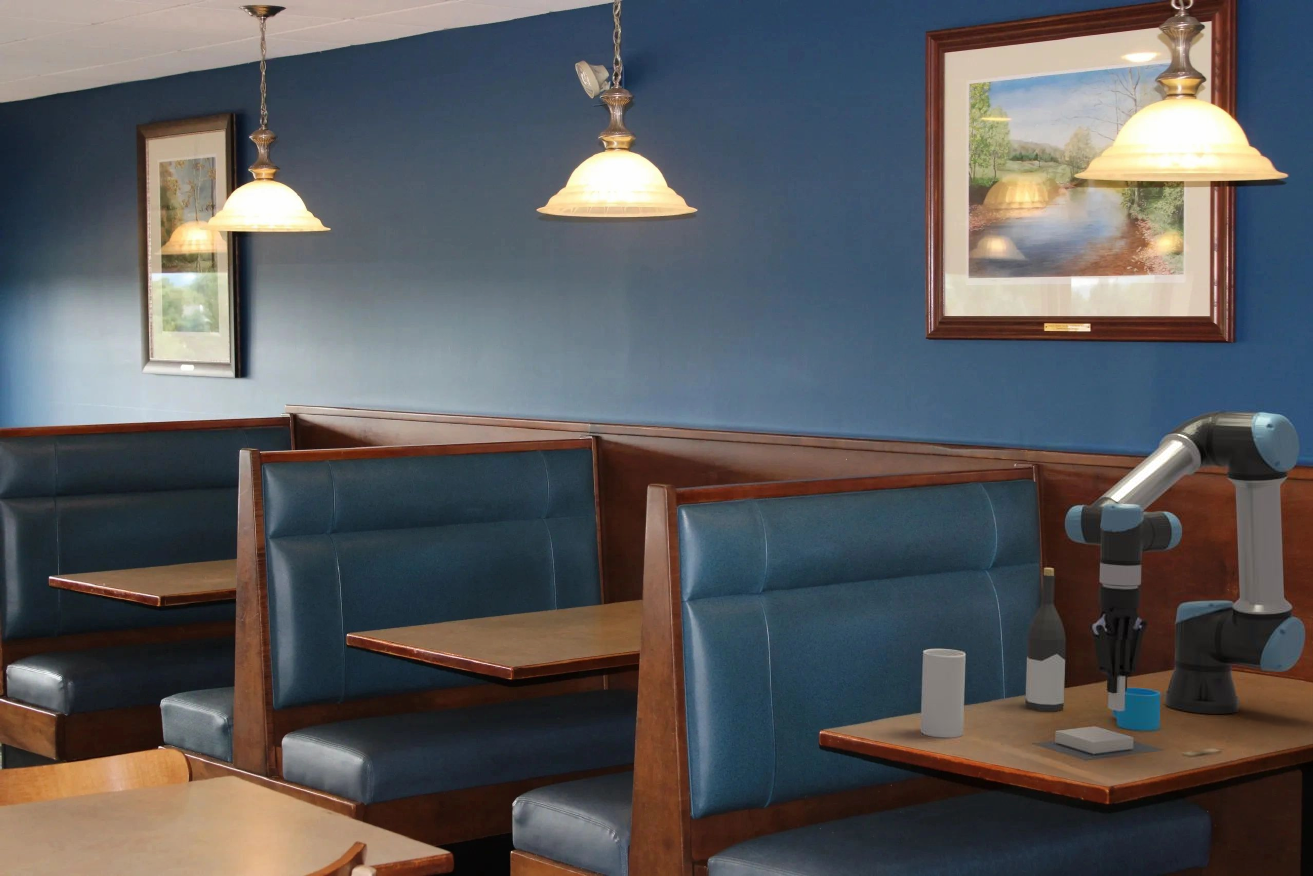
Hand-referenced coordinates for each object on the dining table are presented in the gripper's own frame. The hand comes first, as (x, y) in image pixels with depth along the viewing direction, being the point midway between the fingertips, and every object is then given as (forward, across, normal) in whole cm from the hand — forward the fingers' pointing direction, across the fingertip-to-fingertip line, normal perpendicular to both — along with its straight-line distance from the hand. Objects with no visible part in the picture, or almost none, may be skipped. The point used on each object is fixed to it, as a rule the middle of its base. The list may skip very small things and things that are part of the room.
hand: (1116, 709), depth 296 cm
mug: (+8, -16, -12) cm, 22 cm away
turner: (+8, -6, +12) cm, 16 cm away
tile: (+5, +1, 0) cm, 5 cm away
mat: (+8, +4, 0) cm, 9 cm away
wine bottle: (+8, -14, -35) cm, 39 cm away
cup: (+8, +22, -25) cm, 34 cm away
